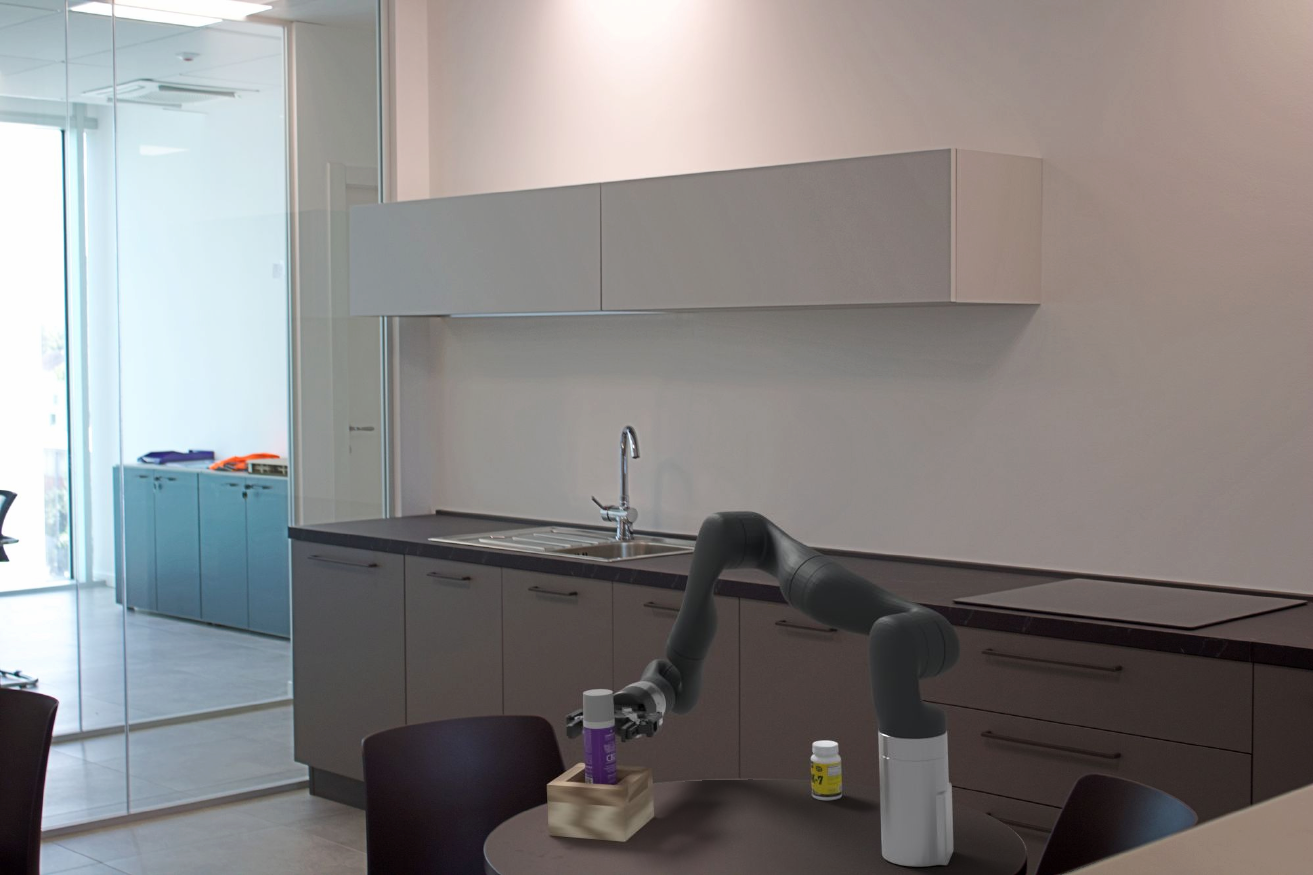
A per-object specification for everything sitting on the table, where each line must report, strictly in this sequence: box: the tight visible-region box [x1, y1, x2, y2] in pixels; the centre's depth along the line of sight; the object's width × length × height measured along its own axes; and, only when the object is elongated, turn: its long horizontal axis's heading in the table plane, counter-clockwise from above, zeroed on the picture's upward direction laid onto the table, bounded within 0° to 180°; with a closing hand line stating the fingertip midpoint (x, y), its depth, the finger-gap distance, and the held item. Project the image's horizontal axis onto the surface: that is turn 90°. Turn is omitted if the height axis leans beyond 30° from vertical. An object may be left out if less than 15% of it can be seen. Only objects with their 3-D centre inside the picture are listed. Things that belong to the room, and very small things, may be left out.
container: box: [582, 688, 617, 785], centre depth 206 cm, size 5×5×15 cm
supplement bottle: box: [810, 740, 843, 801], centre depth 217 cm, size 5×5×8 cm
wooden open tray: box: [546, 762, 655, 843], centre depth 206 cm, size 12×12×8 cm
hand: (596, 734), depth 205 cm, fingers open, 8 cm apart
